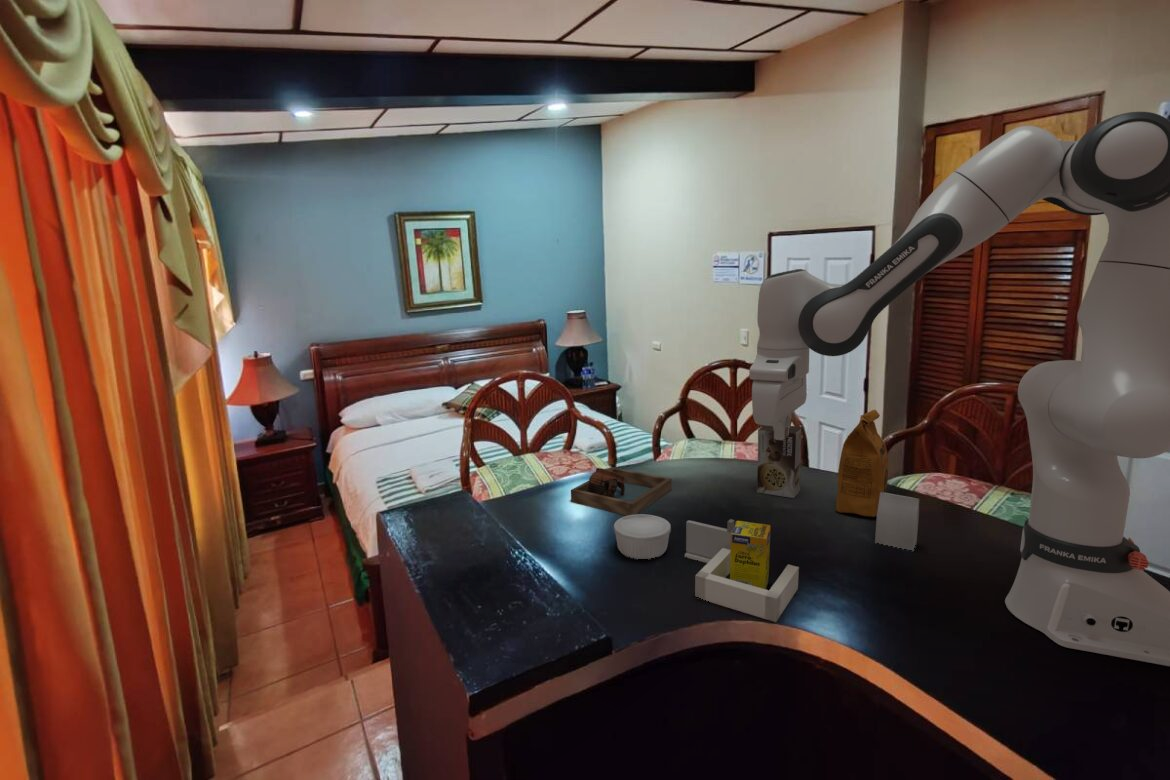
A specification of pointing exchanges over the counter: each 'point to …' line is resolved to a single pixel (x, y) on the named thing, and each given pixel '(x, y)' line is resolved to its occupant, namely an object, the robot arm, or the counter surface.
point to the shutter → (707, 538)
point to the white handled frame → (743, 588)
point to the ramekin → (642, 536)
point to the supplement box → (750, 554)
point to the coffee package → (862, 469)
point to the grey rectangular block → (897, 521)
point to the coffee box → (779, 462)
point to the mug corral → (621, 506)
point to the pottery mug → (609, 480)
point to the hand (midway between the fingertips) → (781, 438)
